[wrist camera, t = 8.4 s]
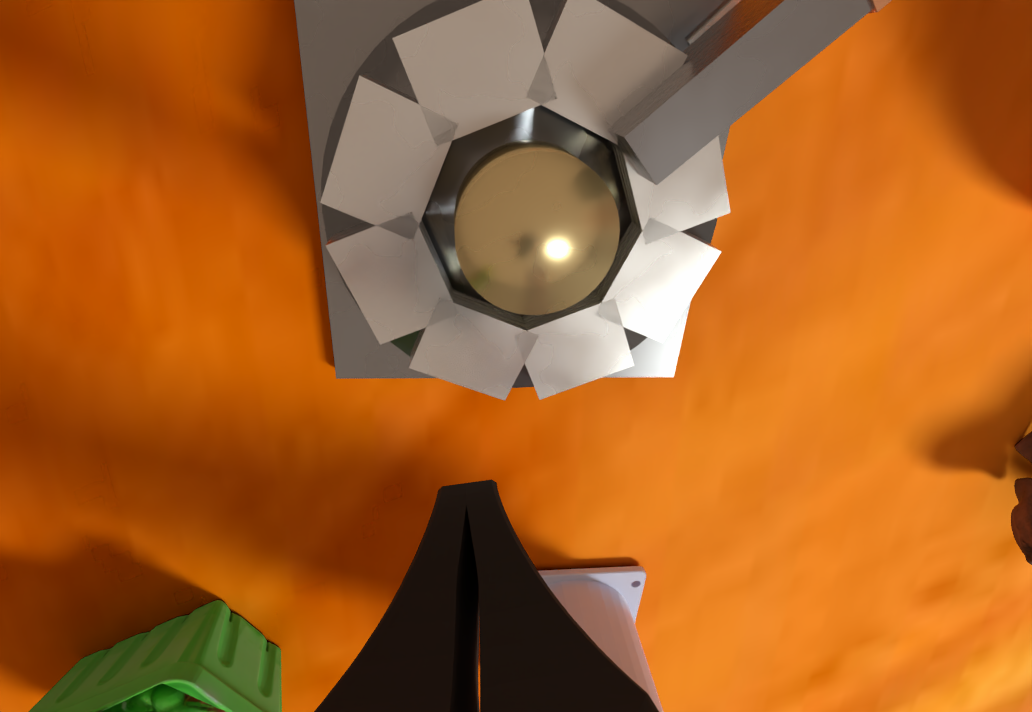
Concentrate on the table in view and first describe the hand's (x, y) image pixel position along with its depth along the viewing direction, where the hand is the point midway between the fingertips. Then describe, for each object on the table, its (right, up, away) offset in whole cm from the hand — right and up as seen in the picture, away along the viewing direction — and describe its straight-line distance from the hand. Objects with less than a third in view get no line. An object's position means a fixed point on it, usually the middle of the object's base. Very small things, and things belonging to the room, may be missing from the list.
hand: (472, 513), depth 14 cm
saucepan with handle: (+3, +11, +3) cm, 11 cm away
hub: (+1, +9, +6) cm, 11 cm away
